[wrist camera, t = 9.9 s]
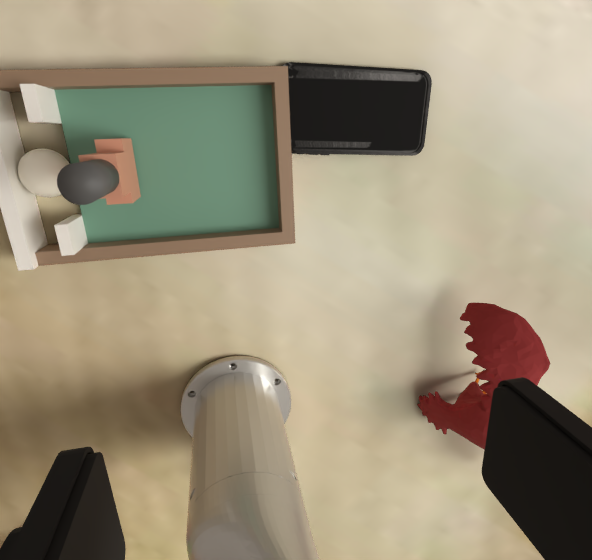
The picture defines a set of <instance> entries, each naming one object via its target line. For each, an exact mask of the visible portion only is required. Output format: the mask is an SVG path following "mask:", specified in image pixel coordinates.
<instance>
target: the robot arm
mask: <svg viewBox="0 0 592 560" xmlns="http://www.w3.org/2000/svg"><path fill="white" fill-rule="evenodd" d="M232 363H234V364H232ZM290 409H291V395H290V390H289V387H288V384H287V382H286V380H285V378H284V376H283V375H282V374H281V373H280V372H279V370H278V369H277V368H275V367H274V366H273V365H271V364H270V363H268V362H266V361H264V360H262V359H258V358H255V357H251V356H231V357H226V358H222V359H218V360H216V361H214V362H212V363H209V364H208V365H206V366H205V367H203V368H202V369H200V370H199V371H198V372H197V373H196V374H195V375H194V376H193V377H192V378H191V380H190V381H189V382H188V384H187V385H186V388H185V390H184V392H183V396H182V401H181V418H182V422H183V424H184V427H185V429H186V430H187V432H188V433H189V435H190V436H191V437H192V438H193V444H192V459H191V474H190V489H189V504H188V518H187V534H186V543H187V551H188V557H189V560H320V559H319V555H318V552H317V549H316V546H315V543H314V540H313V536H312V532H311V529H310V525H309V521H308V517H307V513H306V509H305V505H304V501H303V498H302V494H301V490H300V486H299V482H298V478H297V473H296V469H295V465H294V461H293V457H292V453H291V449H290V445H289V441H288V437H287V433H286V429H285V425H284V424H285V422H286V420H287V419H288V416H289V413H290ZM482 476H483V479H484V481H485V484H486V485H487V487H488V488H489V489H490V490H491V492H492V493H493V494H494V496H495V497H496V498H497V499H498V501H499V502H500V503H501V504H502V506H503V507H504V508H505V510H506V511H507V512H508V513H509V515H510V516H511V517H512V518H513V520H514V521H515V522H516V523H517V525H518V526H519V527H520V529H521V530H522V531H523V532H524V534H525V535H526V536H527V537H528V539H529V540H530V541H531V543H532V544H533V545H534V546H535V548H536V549H537V550H538V551H539V553H540V554H541V555H542V557H543V558H544V559H545V560H592V427H590V426H589V425H588V424H586V423H585V422H584V421H582V420H581V419H580V418H579V417H577V416H576V415H575V414H573V413H572V412H571V411H569V410H568V409H567V408H565V407H564V406H563V405H562V404H560V403H559V402H558V401H556V400H555V399H554V398H552V397H551V396H550V395H548V394H547V393H546V392H545V391H543V390H542V389H541V388H539V387H538V386H537V385H535V384H534V383H533V382H531V381H530V380H529V379H527V378H523V377H521V378H515V379H509V380H503V381H500V383H499V384H498V387H497V388H495V389H494V391H493V396H492V403H491V410H490V417H489V423H488V430H487V437H486V444H485V451H484V458H483V465H482ZM0 560H125V541H124V536H123V533H122V529H121V525H120V521H119V517H118V513H117V509H116V505H115V501H114V497H113V493H112V489H111V486H110V482H109V478H108V474H107V470H106V466H105V462H104V458H103V455H102V453H101V452H98V453H94V451H93V449H92V448H91V447H84V448H78V449H72V450H65V451H61V452H60V453H59V454H58V456H57V457H56V459H55V461H54V463H53V465H52V467H51V469H50V471H49V473H48V476H47V478H46V480H45V482H44V484H43V486H42V488H41V490H40V492H39V494H38V496H37V498H36V500H35V502H34V504H33V506H32V508H31V510H30V512H29V514H28V516H27V518H26V520H25V522H24V524H23V526H22V527H21V528H16V529H14V530H13V531H12V532H11V533H10V534H9V535H8V536H7V538H6V540H5V541H4V543H3V545H2V547H1V549H0Z"/></svg>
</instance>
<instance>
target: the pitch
mask: <svg viewBox="0 0 592 560" xmlns="http://www.w3.org/2000/svg"><path fill="white" fill-rule="evenodd" d="M9 92H22V96H23V101H24V105H25V109H26V113H27V117H28V121H29V122H31V123H43V124H62V127H63V131H64V136H65V141H66V145H67V150H68V154H69V159H70V163H71V164H72V163H78V162H79V157H78V155H85V154H93V153H97V152H96V146H95V141H94V140H96V139H120V138H131V140H132V146H133V152H134V158H135V164H136V170H137V176H138V182H139V188H140V194H141V197H140V198H139V199H137V200H136V201H135V202H134V203H127V204H112V205H107V202H106V198H104V199H98V200H96V201H94V202H92V203H90V204H87V205H80V209H81V213H82V214H74V215H72V216H70V217H68V218H66V219H64V220H63V221H61V222H59V223H57V224H55V225H54V227H55V231H56V235H57V239H58V243H57V244H48V242H47V239H46V235H45V231H44V227H43V223H42V219H41V215H40V211H39V207H38V203H37V199H36V195H35V194H34V193H32V192H30V191H29V190H28V189H27V188H26V187H25V186H24V185H23V184H22V182H21V180H20V178H19V175H18V164H19V162H20V160H21V158H22V157H23V156H24V155H25V152H24V148H23V144H22V140H21V136H20V133H19V129H18V125H17V121H16V117H15V113H14V109H13V105H12V101H11V97H10V93H9ZM0 208H1V212H2V215H3V218H4V222H5V225H6V229H7V232H8V236H9V239H10V243H11V246H12V250H13V253H14V257H15V260H16V264H17V267H18V271H19V270H30V269H35V268H36V267H37V266H41V265H53V264H64V263H76V262H87V261H98V260H110V259H121V258H133V257H144V256H155V255H167V254H178V253H189V252H201V251H212V250H224V249H235V248H246V247H258V246H269V245H281V244H292V243H295V226H294V202H293V178H292V154H291V130H290V107H289V83H288V66H262V67H190V68H118V69H47V70H0Z"/></svg>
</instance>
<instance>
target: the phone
mask: <svg viewBox="0 0 592 560" xmlns="http://www.w3.org/2000/svg"><path fill="white" fill-rule="evenodd" d="M283 66H288V83H289V107H290V130H291V153H297V154H303V153H305V154H312V155H318V154H321V155H329V154H359V155H417V154H418V153H420V152H421V151H422V149H423V147H424V142H425V134H426V126H427V117H428V109H429V101H430V93H431V77H430V75H429V74H428V73H427V72H426V71H423V70H409V69H392V68H376V67H360V66H344V65H327V64H311V63H295V62H289V63H286V64H284V65H283Z"/></svg>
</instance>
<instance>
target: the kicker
mask: <svg viewBox="0 0 592 560" xmlns="http://www.w3.org/2000/svg"><path fill="white" fill-rule="evenodd" d="M94 141H95V146H96V152H97V153H93V154H85V155H78V157H79V162H78V163H72V164H69V165H66V166H65V167H63V168H62V169H61V170H60V172H59V174H58V177H57V186H58V189H59V191H60V193H61V194H62V196H63V197H64V198H65V199H67V200H68V201H70V202H72V203H74V204H78V205H87V204H90V203H92V202H94V201H96V200H98V199H104V198H106V202H107V205H112V204H127V203H134V202H135V201H136V200H137V199H139V198H140V197H141V194H140V188H139V182H138V176H137V170H136V164H135V158H134V152H133V146H132V140H131V138H120V139H96V140H94Z"/></svg>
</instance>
